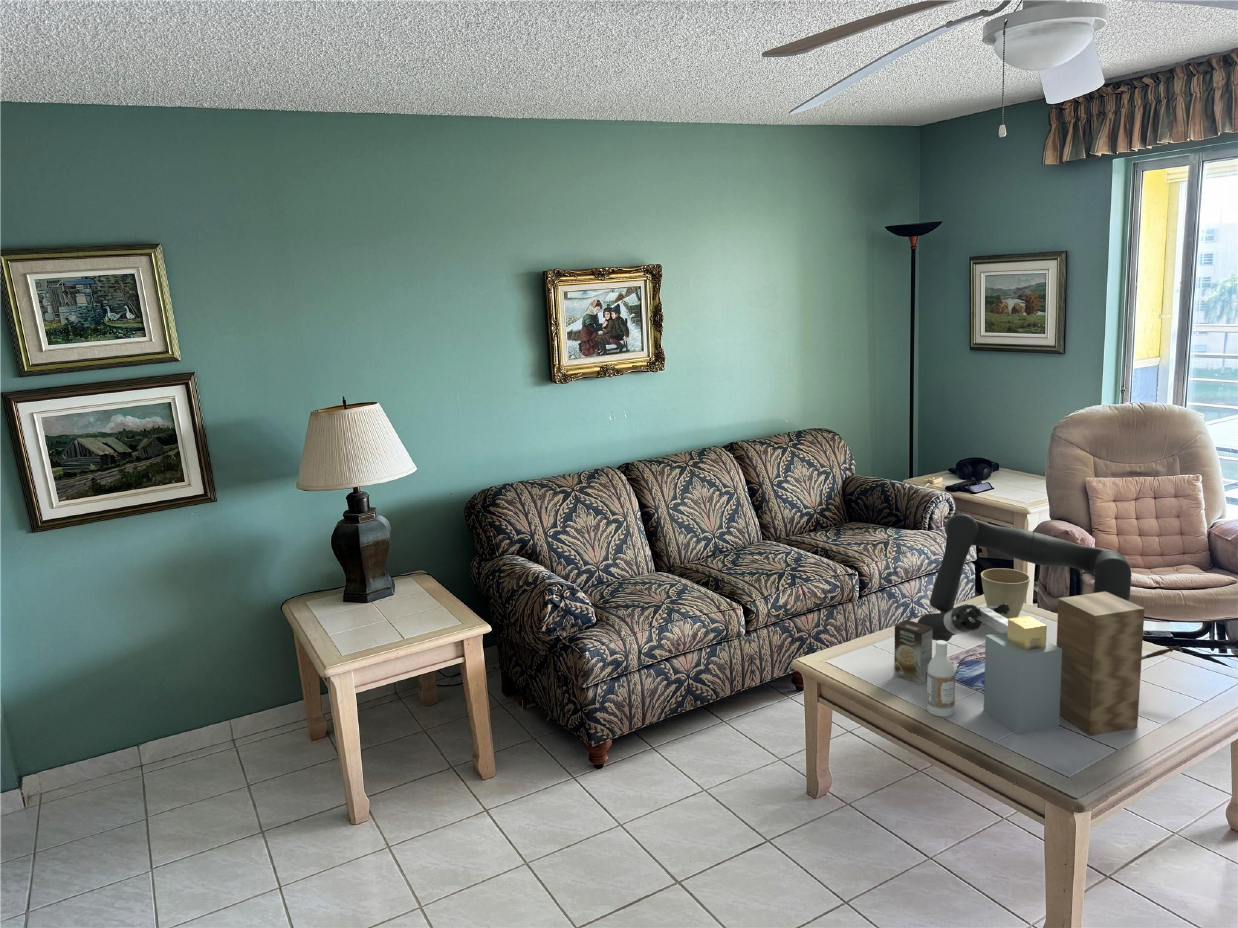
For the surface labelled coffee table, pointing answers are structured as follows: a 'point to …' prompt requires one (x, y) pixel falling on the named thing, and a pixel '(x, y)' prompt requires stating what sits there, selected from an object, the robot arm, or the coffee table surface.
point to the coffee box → (912, 651)
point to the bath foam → (941, 682)
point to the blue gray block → (1022, 685)
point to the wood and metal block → (1017, 629)
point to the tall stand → (1100, 661)
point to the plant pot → (1005, 589)
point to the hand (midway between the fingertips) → (993, 609)
